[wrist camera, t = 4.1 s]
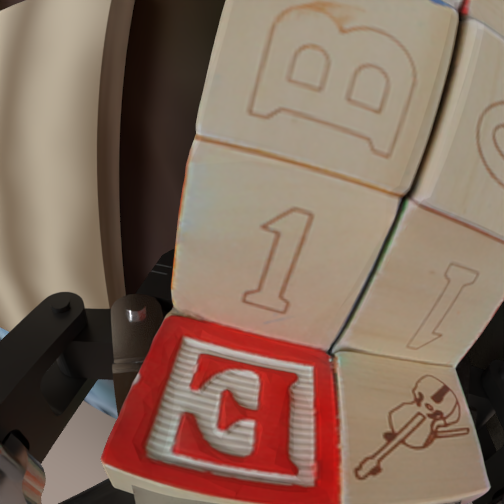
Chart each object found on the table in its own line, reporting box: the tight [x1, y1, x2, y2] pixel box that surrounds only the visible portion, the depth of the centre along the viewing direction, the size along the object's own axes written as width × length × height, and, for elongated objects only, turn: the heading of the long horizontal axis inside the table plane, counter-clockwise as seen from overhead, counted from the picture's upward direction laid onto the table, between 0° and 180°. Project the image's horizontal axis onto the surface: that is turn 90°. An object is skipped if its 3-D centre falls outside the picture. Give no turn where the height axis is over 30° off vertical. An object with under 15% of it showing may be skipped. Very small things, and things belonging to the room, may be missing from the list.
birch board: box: [0, 0, 135, 332], centre depth 14 cm, size 12×22×2 cm, turn 172°
